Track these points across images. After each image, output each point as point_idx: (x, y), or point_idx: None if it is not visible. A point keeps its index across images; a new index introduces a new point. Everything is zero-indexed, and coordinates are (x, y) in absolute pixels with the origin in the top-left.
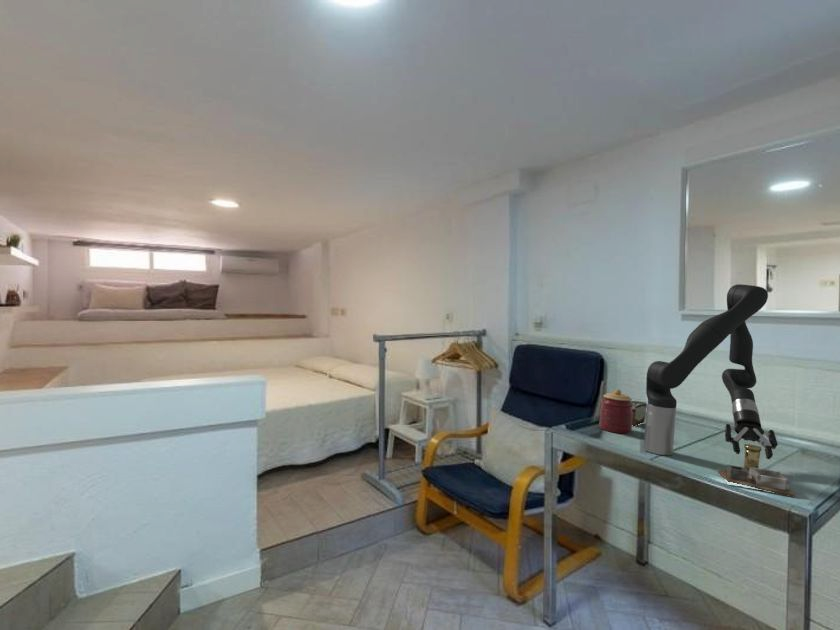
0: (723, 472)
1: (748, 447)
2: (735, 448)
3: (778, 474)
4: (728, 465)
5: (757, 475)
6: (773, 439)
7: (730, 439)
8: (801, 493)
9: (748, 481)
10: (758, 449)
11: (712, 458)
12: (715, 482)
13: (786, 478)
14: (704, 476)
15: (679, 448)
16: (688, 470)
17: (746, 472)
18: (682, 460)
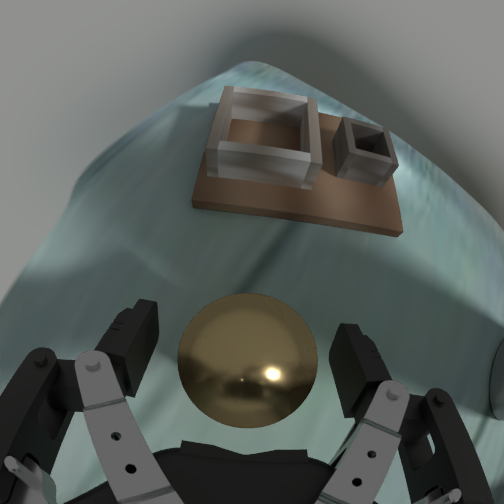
0: (390, 198)
1: (299, 320)
2: (369, 343)
3: (222, 133)
4: (395, 157)
5: (315, 101)
6: (22, 397)
7: (418, 398)
8: (171, 139)
9: (326, 141)
10: (225, 297)
11: None
12: (401, 145)
13: (222, 97)
14: (425, 180)
15: None
16: (458, 216)
17: (344, 119)
18: (476, 320)
